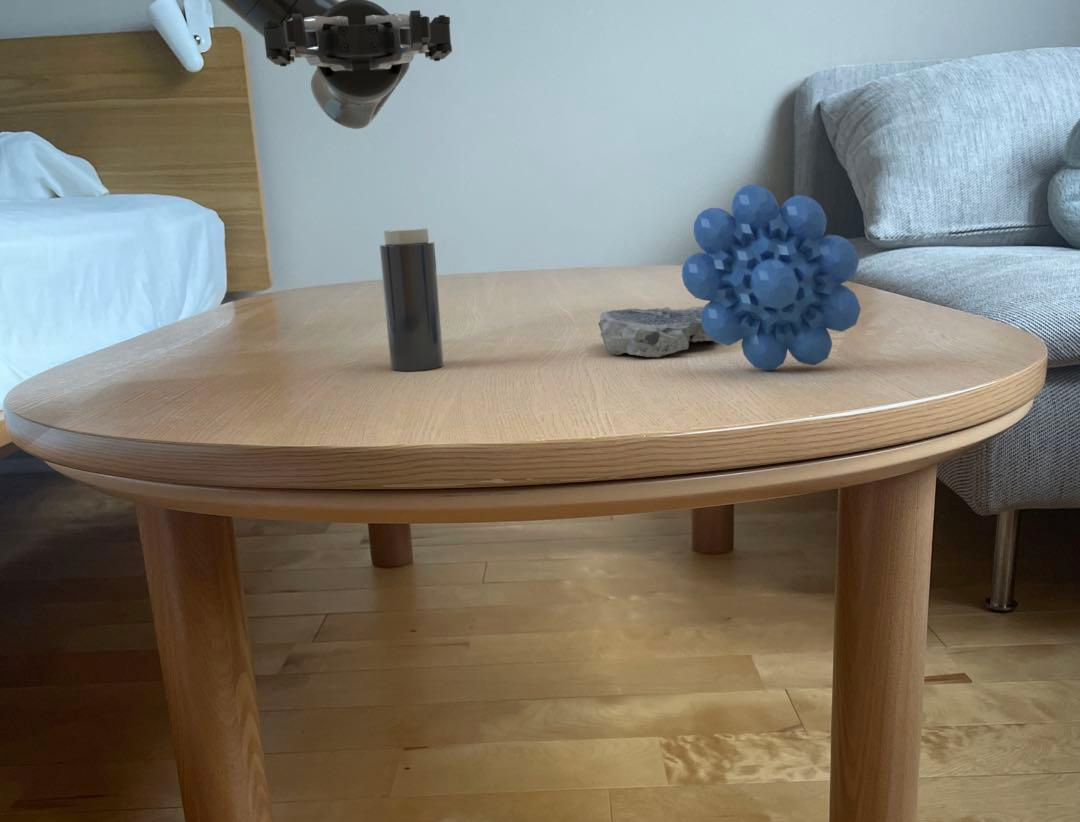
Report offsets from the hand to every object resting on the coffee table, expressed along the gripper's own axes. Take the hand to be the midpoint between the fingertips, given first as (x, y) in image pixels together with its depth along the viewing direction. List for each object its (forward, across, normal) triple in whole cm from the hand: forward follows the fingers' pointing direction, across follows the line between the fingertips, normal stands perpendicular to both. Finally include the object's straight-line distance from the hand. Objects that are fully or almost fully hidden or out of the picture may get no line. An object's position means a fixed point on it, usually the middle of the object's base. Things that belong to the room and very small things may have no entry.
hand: (358, 27), depth 76 cm
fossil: (+4, +21, +24) cm, 32 cm away
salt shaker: (+5, +2, +24) cm, 25 cm away
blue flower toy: (+18, +25, +24) cm, 39 cm away
